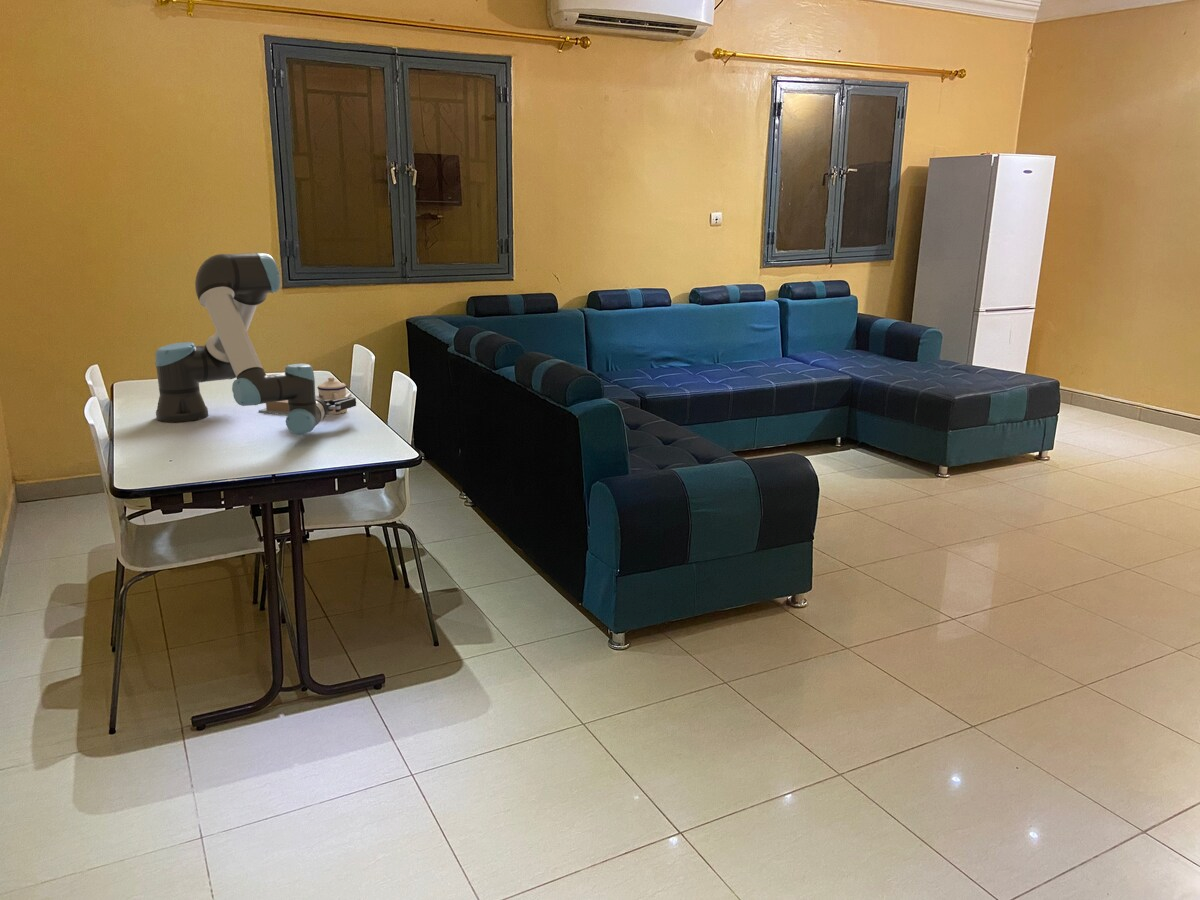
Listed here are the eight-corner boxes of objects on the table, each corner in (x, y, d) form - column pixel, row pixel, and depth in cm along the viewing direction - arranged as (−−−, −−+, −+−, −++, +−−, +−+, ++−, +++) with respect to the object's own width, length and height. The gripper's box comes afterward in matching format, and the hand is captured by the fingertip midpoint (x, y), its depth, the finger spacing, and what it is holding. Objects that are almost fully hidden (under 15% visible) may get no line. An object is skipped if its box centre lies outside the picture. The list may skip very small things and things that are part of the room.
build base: (258, 412, 289) (257, 401, 288) (288, 402, 304) (287, 392, 303) (300, 415, 285) (299, 404, 284) (328, 405, 300) (327, 395, 299)
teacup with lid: (317, 410, 293) (314, 376, 290) (344, 408, 297) (342, 374, 294) (323, 417, 282) (320, 382, 279) (352, 415, 286) (349, 380, 283)
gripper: (270, 424, 260) (289, 408, 281) (355, 423, 262) (368, 408, 282) (268, 399, 258) (288, 385, 279) (353, 399, 260) (367, 385, 280)
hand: (328, 397), depth 280 cm, fingers open, 13 cm apart
